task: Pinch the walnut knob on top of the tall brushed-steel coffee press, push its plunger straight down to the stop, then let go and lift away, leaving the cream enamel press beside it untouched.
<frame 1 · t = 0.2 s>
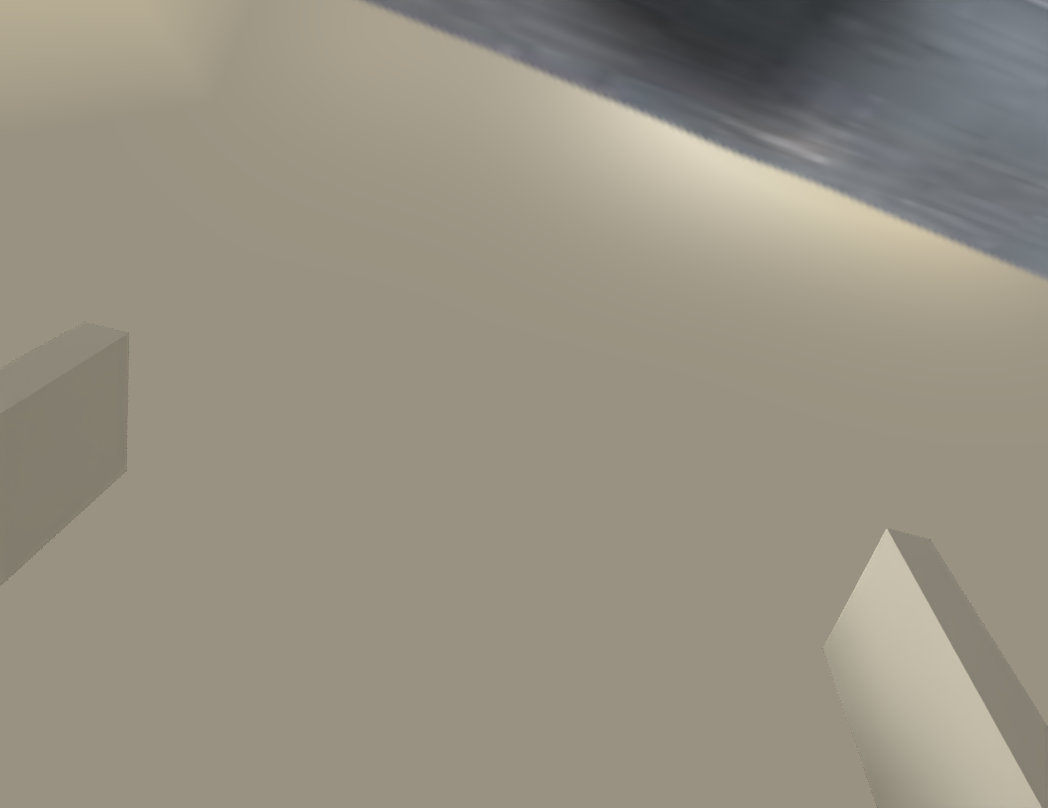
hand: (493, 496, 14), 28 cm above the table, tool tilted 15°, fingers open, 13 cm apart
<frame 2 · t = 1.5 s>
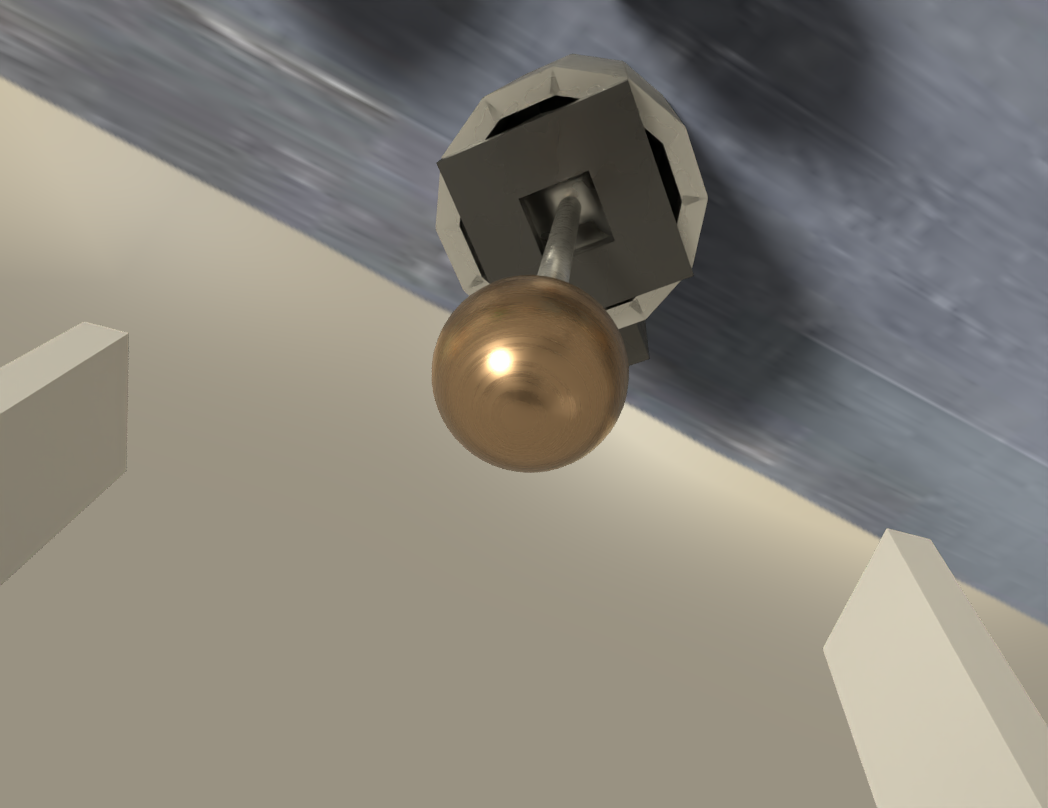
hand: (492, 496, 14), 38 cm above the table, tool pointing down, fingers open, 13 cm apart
plunger: (554, 271, 25), point 25 cm above the table, slide at 0.0 cm
press: (581, 157, 48), on the table
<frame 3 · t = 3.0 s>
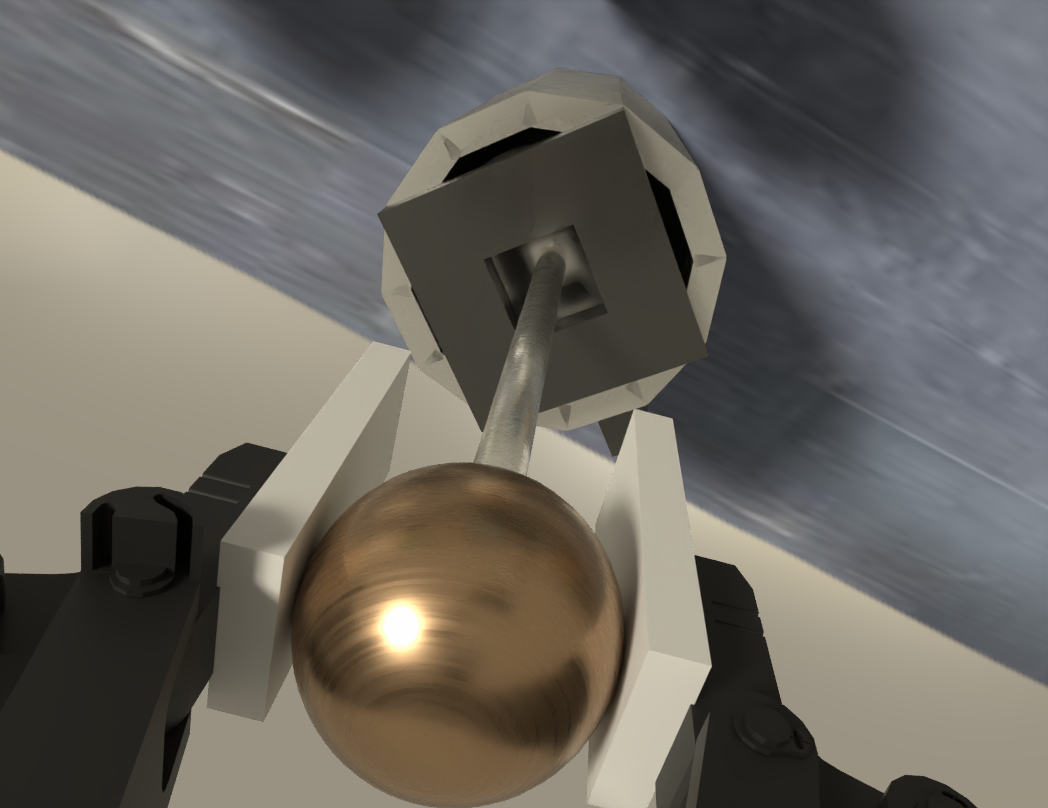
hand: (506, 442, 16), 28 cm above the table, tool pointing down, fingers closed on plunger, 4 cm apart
plunger: (522, 381, 18), point 25 cm above the table, slide at 0.0 cm, touching gripper
press: (570, 188, 40), on the table
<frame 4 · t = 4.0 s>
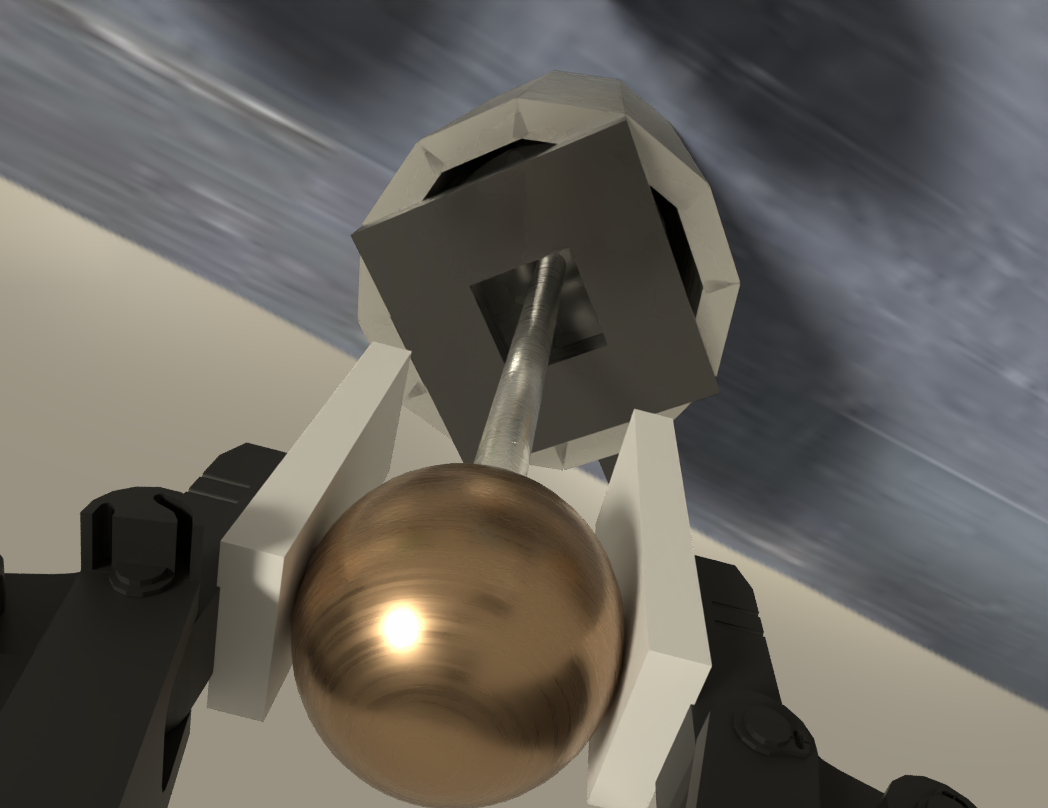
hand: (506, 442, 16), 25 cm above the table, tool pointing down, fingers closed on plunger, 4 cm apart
plunger: (522, 381, 18), point 22 cm above the table, slide at 2.8 cm, touching gripper
press: (568, 198, 38), on the table
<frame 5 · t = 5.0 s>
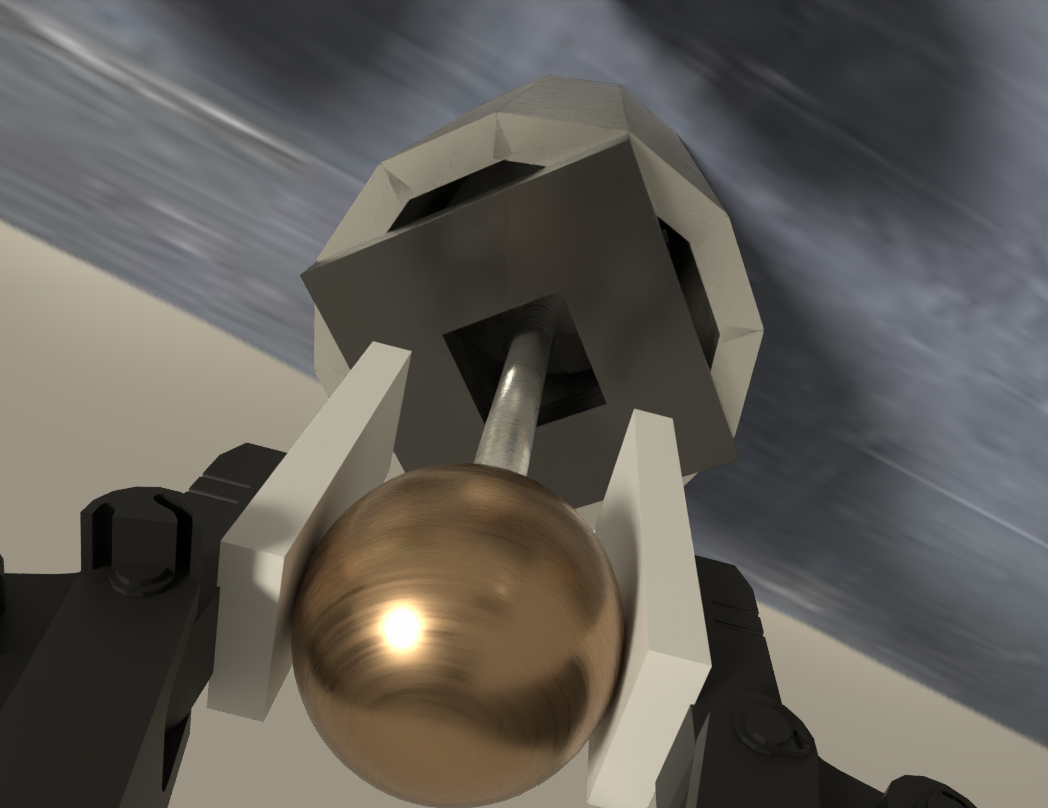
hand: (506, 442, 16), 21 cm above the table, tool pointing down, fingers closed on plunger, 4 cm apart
plunger: (522, 381, 18), point 18 cm above the table, slide at 6.8 cm, touching gripper
press: (563, 216, 34), on the table
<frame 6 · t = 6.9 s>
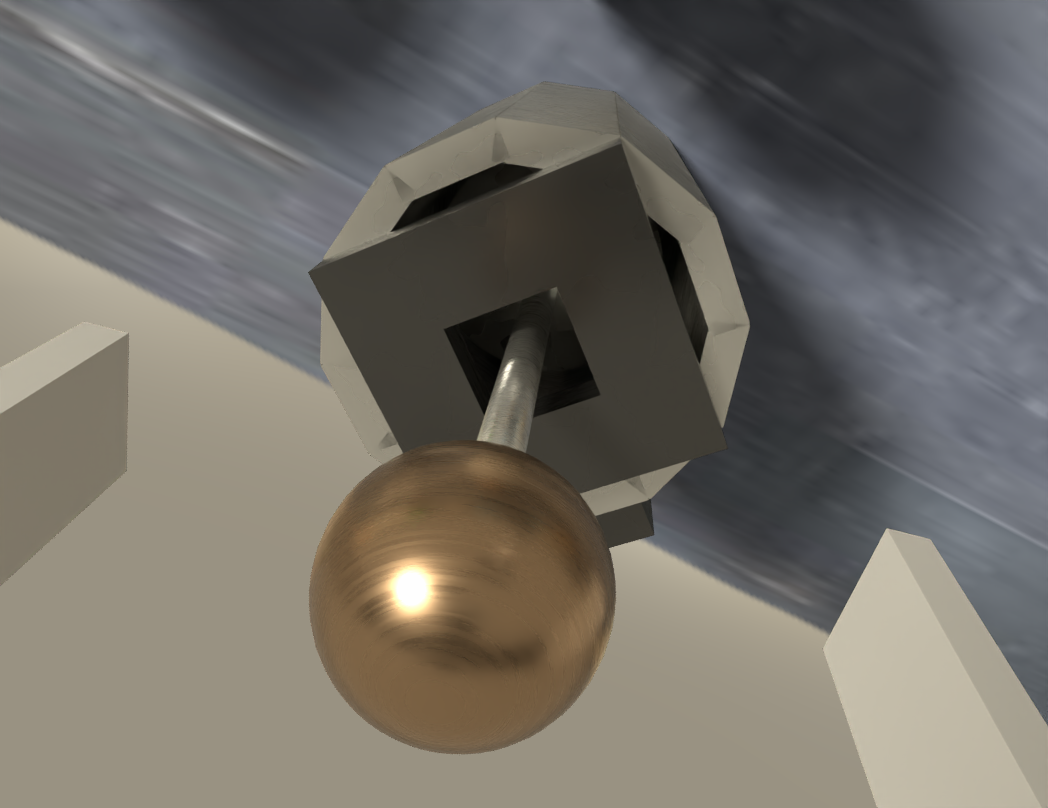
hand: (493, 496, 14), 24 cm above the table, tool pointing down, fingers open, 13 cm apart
plunger: (520, 373, 19), point 18 cm above the table, slide at 6.8 cm
press: (559, 218, 35), on the table
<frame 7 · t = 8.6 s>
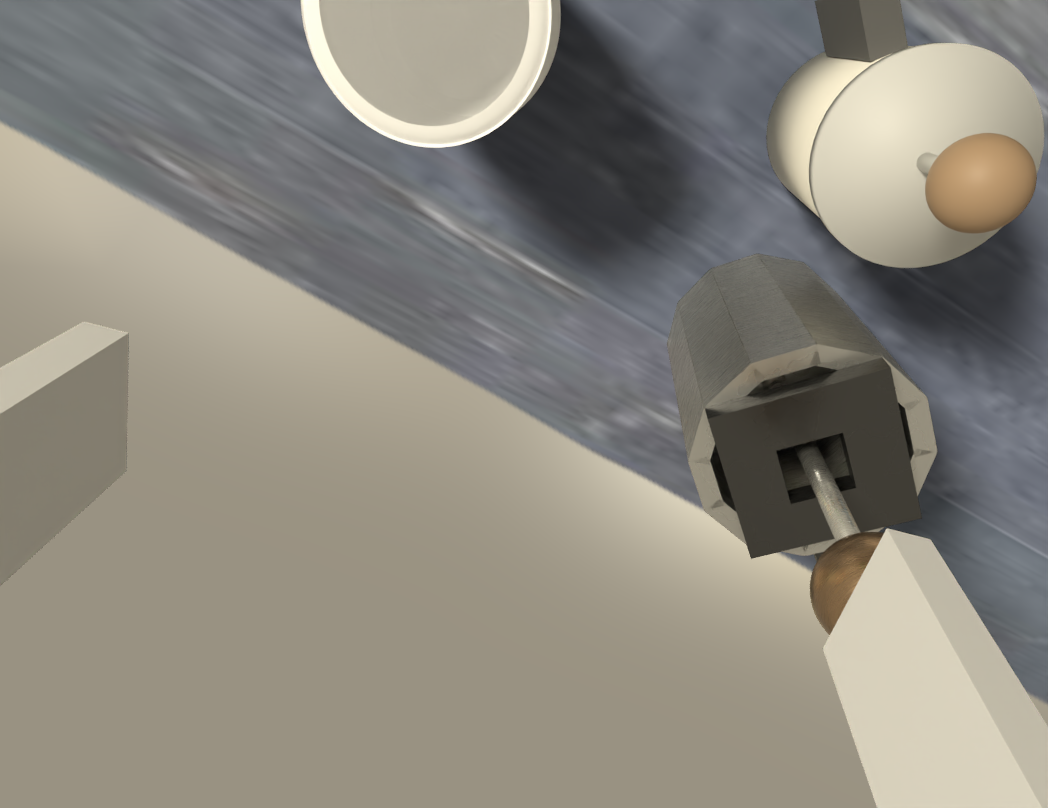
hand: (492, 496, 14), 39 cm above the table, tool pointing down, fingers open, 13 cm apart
jar: (478, 17, 46), on the table
plunger: (819, 476, 36), point 18 cm above the table, slide at 6.8 cm
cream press: (846, 128, 46), on the table
press: (754, 339, 52), on the table
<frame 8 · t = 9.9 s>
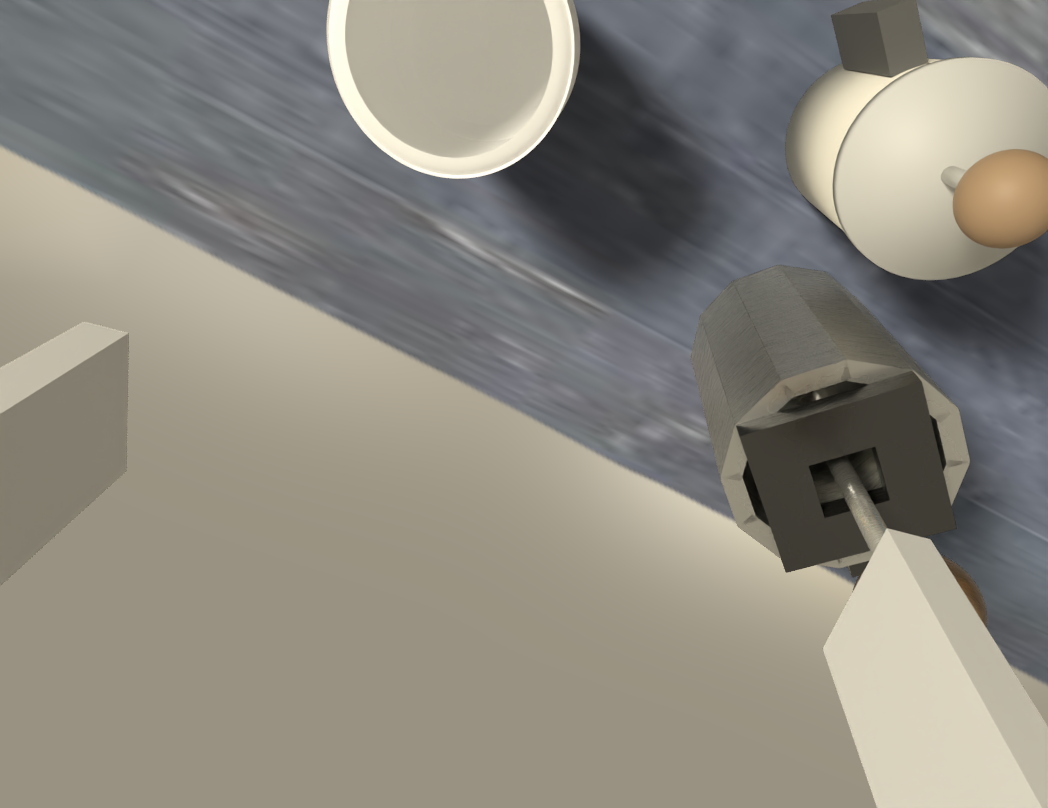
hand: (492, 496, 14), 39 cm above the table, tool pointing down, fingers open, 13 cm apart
jar: (495, 42, 46), on the table
plunger: (853, 491, 36), point 18 cm above the table, slide at 6.8 cm
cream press: (864, 138, 46), on the table
press: (778, 349, 52), on the table
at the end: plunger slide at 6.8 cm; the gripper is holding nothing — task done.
